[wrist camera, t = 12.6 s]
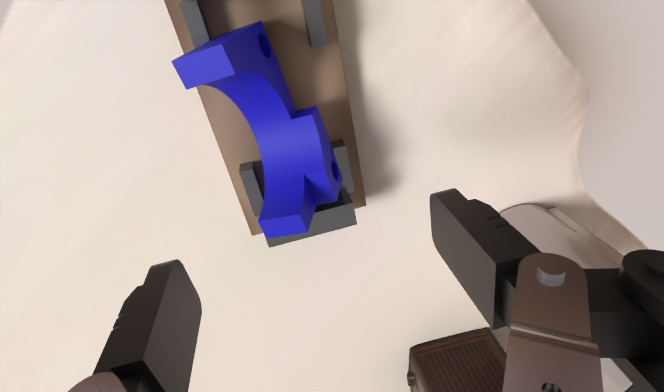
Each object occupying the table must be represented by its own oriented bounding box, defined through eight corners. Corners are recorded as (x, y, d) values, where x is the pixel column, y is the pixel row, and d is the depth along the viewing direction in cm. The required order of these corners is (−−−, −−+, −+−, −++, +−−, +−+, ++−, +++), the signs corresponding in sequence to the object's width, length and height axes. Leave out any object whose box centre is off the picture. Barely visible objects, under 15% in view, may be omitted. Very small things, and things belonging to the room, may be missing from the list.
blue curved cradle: (342, 178, 28) (329, 229, 23) (289, 188, 29) (266, 238, 25) (283, 12, 22) (248, 34, 17) (219, 35, 23) (171, 61, 19)
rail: (315, -75, 23) (327, -89, 19) (361, 197, 33) (376, 224, 29) (154, -41, 22) (132, -48, 18) (252, 226, 32) (251, 257, 28)
